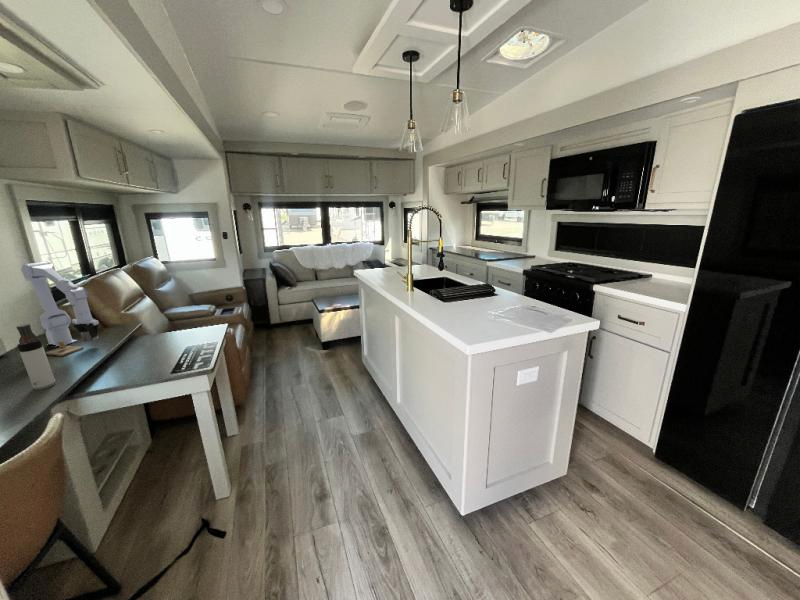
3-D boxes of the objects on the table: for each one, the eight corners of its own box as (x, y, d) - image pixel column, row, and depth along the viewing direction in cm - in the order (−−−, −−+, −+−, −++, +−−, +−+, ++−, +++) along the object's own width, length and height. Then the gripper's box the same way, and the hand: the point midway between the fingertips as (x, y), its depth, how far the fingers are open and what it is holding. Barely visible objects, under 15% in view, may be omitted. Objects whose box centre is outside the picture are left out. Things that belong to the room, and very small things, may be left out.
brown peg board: (44, 354, 160) (40, 343, 159) (65, 347, 169) (62, 336, 167) (62, 356, 158) (58, 345, 156) (83, 348, 166) (80, 338, 165)
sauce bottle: (51, 363, 151) (37, 323, 146) (33, 369, 146) (18, 328, 140) (43, 361, 154) (29, 322, 148) (25, 367, 148) (9, 326, 142)
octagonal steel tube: (80, 341, 165) (77, 332, 163) (92, 337, 170) (89, 328, 169) (88, 341, 164) (86, 332, 162) (100, 337, 169) (97, 328, 167)
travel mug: (36, 392, 127) (18, 345, 122) (32, 387, 131) (14, 342, 125) (58, 384, 132) (42, 339, 127) (53, 380, 136) (37, 336, 130)
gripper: (61, 313, 160) (70, 338, 164) (84, 315, 157) (92, 340, 161) (78, 309, 167) (85, 333, 171) (100, 310, 164) (107, 335, 168)
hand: (89, 336), depth 166 cm, fingers closed on octagonal steel tube, 5 cm apart
